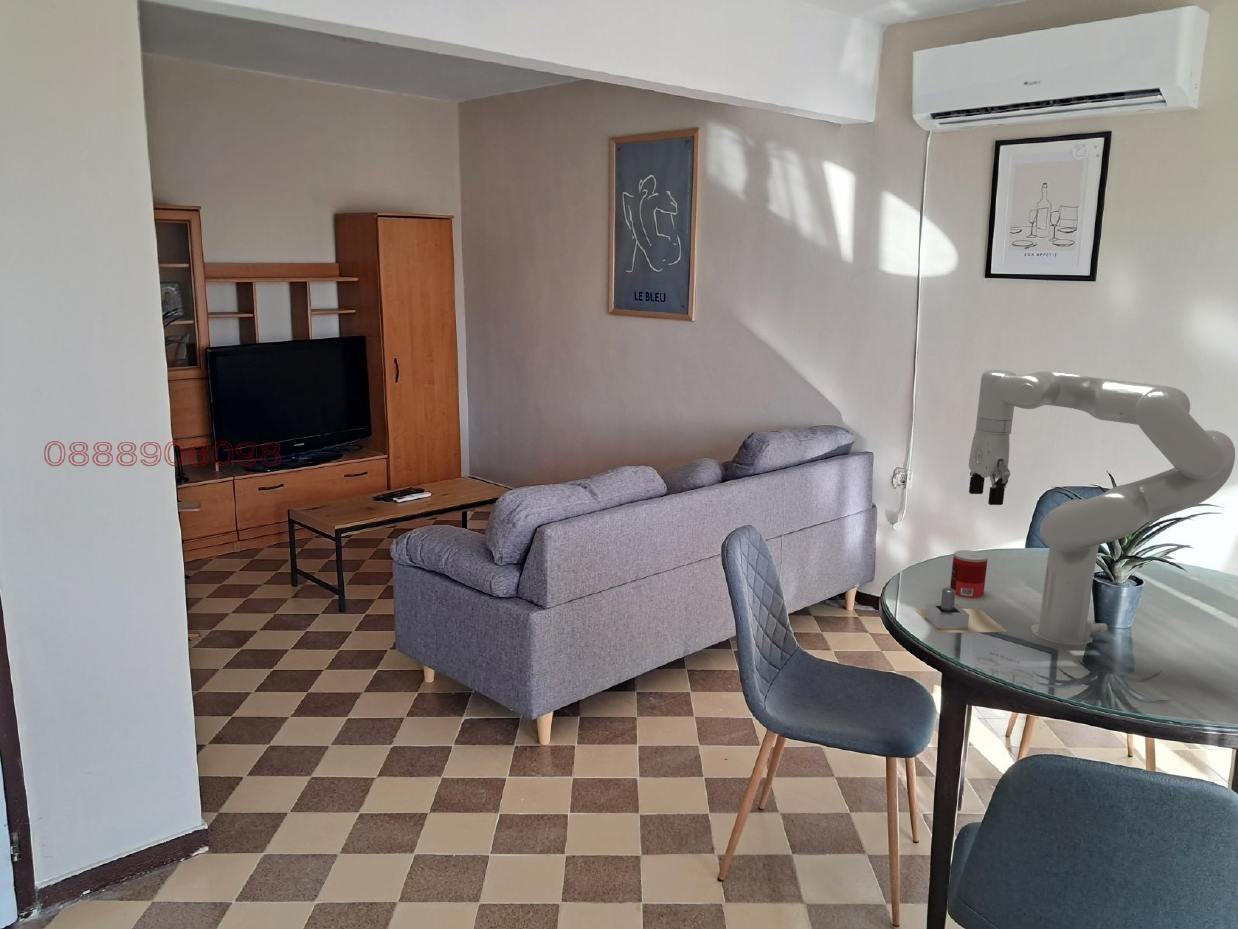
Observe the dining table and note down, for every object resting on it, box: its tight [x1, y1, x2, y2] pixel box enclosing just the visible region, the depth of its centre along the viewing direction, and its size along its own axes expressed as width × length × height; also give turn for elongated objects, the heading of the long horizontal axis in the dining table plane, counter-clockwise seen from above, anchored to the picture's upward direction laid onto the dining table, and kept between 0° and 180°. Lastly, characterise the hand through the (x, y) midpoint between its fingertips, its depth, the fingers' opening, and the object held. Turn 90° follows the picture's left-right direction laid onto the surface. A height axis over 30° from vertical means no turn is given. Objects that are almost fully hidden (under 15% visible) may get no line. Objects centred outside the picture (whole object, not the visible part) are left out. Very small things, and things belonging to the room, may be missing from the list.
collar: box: [925, 602, 969, 630], centre depth 216 cm, size 7×7×4 cm
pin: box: [940, 587, 956, 613], centre depth 215 cm, size 3×3×8 cm
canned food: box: [949, 549, 989, 599], centre depth 236 cm, size 8×8×11 cm
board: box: [913, 608, 1008, 634], centre depth 218 cm, size 16×14×1 cm
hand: (985, 499), depth 219 cm, fingers open, 9 cm apart
